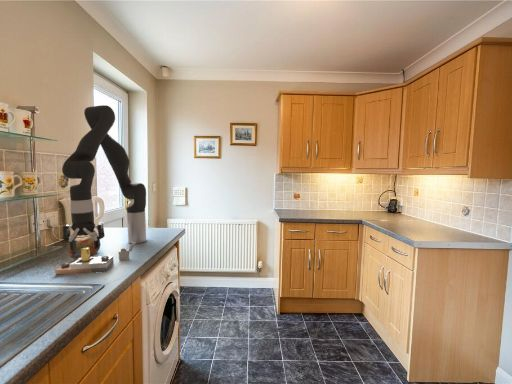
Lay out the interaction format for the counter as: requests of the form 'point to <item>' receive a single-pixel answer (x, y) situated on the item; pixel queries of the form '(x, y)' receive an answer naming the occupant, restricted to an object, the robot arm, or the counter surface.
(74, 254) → the tin
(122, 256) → the lighter
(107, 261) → the door latch
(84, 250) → the pin
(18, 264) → the counter surface
